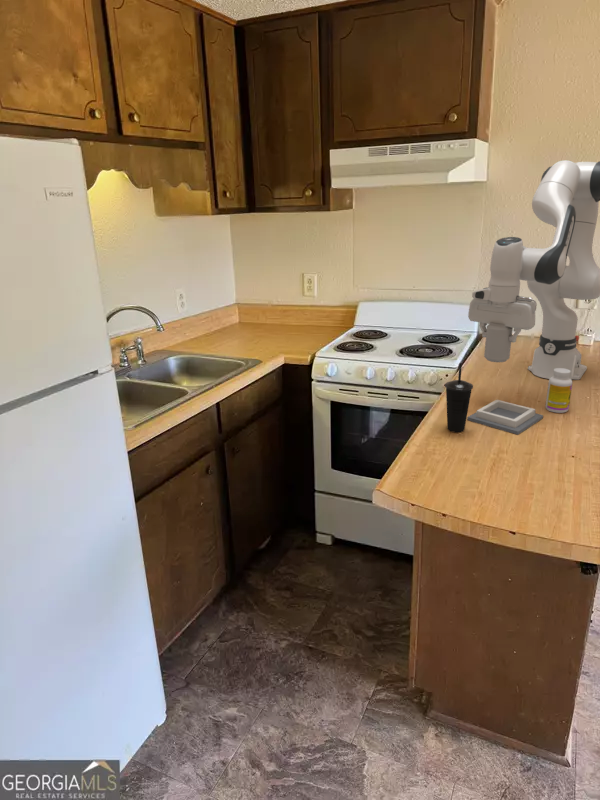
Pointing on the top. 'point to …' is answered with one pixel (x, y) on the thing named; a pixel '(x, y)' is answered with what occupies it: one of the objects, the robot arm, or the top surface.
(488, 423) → the grey flat square tray
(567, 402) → the supplement bottle
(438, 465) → the top surface
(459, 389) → the drinking cup
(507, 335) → the can
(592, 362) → the top surface
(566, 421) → the top surface
